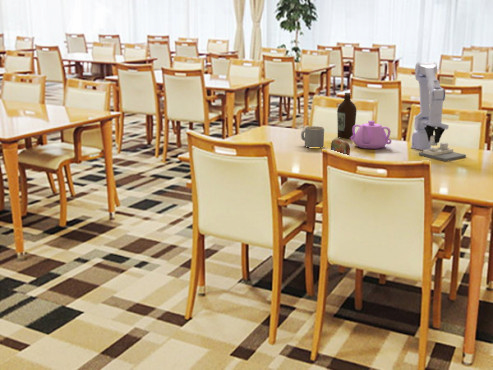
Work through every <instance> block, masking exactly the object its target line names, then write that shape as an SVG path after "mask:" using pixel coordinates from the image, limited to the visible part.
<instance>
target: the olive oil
mask: <svg viewBox="0 0 493 370" xmlns="http://www.w3.org/2000/svg"><path fill="white" fill-rule="evenodd" d="M336 112H337V115H336V117H337V118H336V119H337V138H338V137H340V138H339V139H343V138H346V139H348V138H350V139H351V136H353V132H352V128H353V126H354V125H356V123H357V122H356V119H357V107H356V105H355V104H354V101H352V100H351V93H350V92H344V97H343V101H342V102H340V104H339V105H338V107H337V111H336ZM346 139H345V140H346ZM353 139H354V137H353ZM348 140H349V139H348Z"/></svg>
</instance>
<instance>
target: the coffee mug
mask: <svg viewBox="0 0 493 370" xmlns="http://www.w3.org/2000/svg"><path fill="white" fill-rule="evenodd" d="M300 137H301V140H302V141H303V142H304V147H305V146H307V147H323V146H324V147H325V145H324V144H325V128H324V127H323V126H314V125H313V126H311V125H310V126H306V127H304V129H303V130H302V131H301V133H300ZM324 147H323V148H324Z"/></svg>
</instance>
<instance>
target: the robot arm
mask: <svg viewBox="0 0 493 370" xmlns="http://www.w3.org/2000/svg"><path fill="white" fill-rule="evenodd" d="M437 71H438V64H437V62H435V61H434V62H432V61H431V62H428V61H427V62H419V61H417V62H416V64H415V69H414V73H415V74H414V76H415V80H416V81H418V84H419V85H418V86H419V87H418V88H419V113H418V114H417V115H416V116H415V117H414V131H413V133H412V135H411V146H410V148H412V149H415V150H420V151H423V150H427V149H434V148H435V147H434V146H433V147H432V145H430V135H435V143H437V144H438V143H440V140H441V138H442V135H443V134H444V131H445V130H449V124H445V123H442V118H443V116H442V115H443V104H444V101H445V99H446V90H445V88H443V87H442V86H441V84H440V80H439V79H437V78H436V74H437Z"/></svg>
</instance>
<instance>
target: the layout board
mask: <svg viewBox="0 0 493 370" xmlns="http://www.w3.org/2000/svg"><path fill="white" fill-rule="evenodd" d="M439 143H440V145H439V147H433V148H434V149H427V150H422V152H418V156H421V157H425V158H430V159H433V158H434V160H437V159H439V161H442V160H443V161H442V162H449V161H454V160H459V159H463V158H466V157H467V154H464V153H459V152H455V151H454V148H451V147H449V143H448V142H439ZM448 160H449V161H448Z"/></svg>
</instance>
